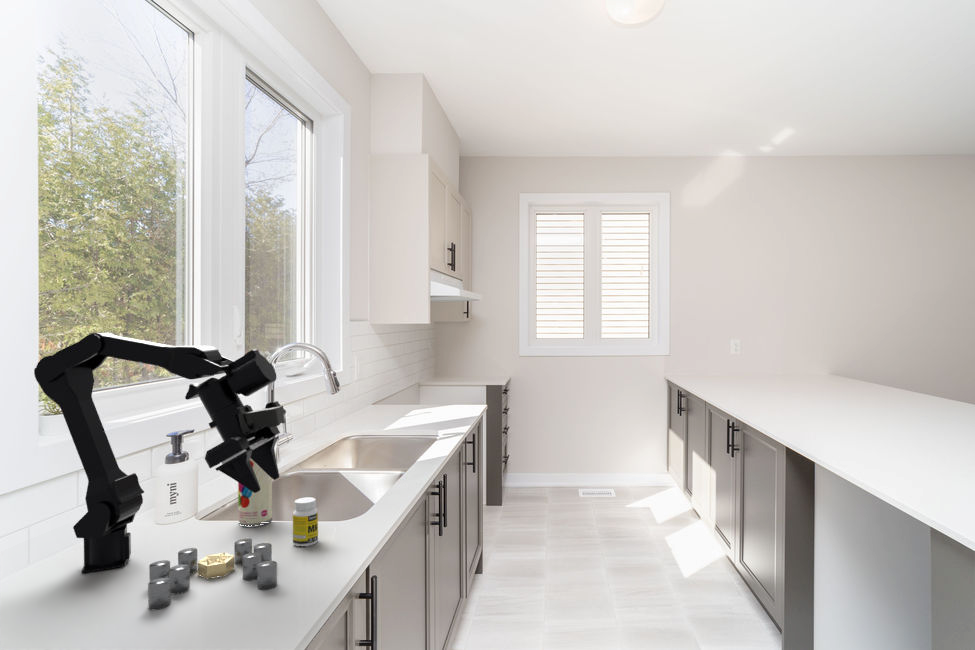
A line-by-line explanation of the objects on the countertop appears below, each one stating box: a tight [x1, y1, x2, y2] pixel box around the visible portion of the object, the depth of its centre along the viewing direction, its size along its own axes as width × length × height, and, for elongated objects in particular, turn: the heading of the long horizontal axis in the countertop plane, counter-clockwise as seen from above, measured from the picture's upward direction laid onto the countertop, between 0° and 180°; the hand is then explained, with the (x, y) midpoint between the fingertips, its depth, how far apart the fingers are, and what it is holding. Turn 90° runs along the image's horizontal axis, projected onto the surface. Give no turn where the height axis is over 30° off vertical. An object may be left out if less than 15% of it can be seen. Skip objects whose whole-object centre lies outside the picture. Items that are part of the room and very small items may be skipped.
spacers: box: [147, 538, 278, 610], centre depth 98 cm, size 19×16×4 cm
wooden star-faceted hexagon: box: [197, 552, 235, 579], centre depth 102 cm, size 5×6×2 cm
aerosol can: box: [237, 450, 273, 526], centre depth 128 cm, size 7×7×20 cm
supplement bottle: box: [292, 496, 319, 547], centre depth 115 cm, size 5×5×8 cm
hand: (267, 484), depth 105 cm, fingers open, 9 cm apart
